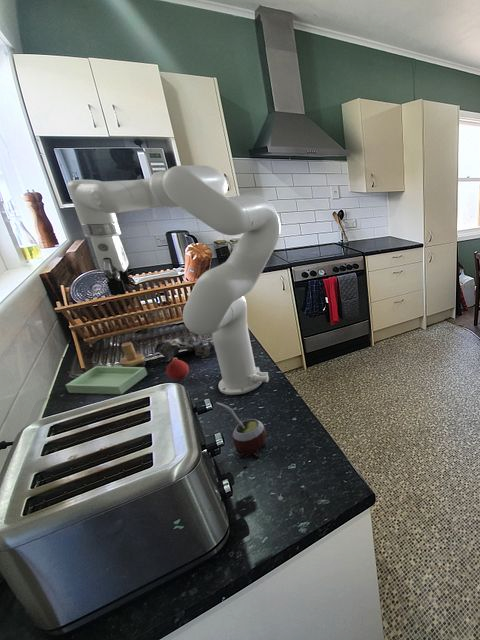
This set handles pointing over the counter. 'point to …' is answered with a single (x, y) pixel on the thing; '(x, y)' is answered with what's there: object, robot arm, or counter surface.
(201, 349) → the foil
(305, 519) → the counter surface
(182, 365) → the onion
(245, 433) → the mate gourd
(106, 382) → the tray
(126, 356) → the brush
